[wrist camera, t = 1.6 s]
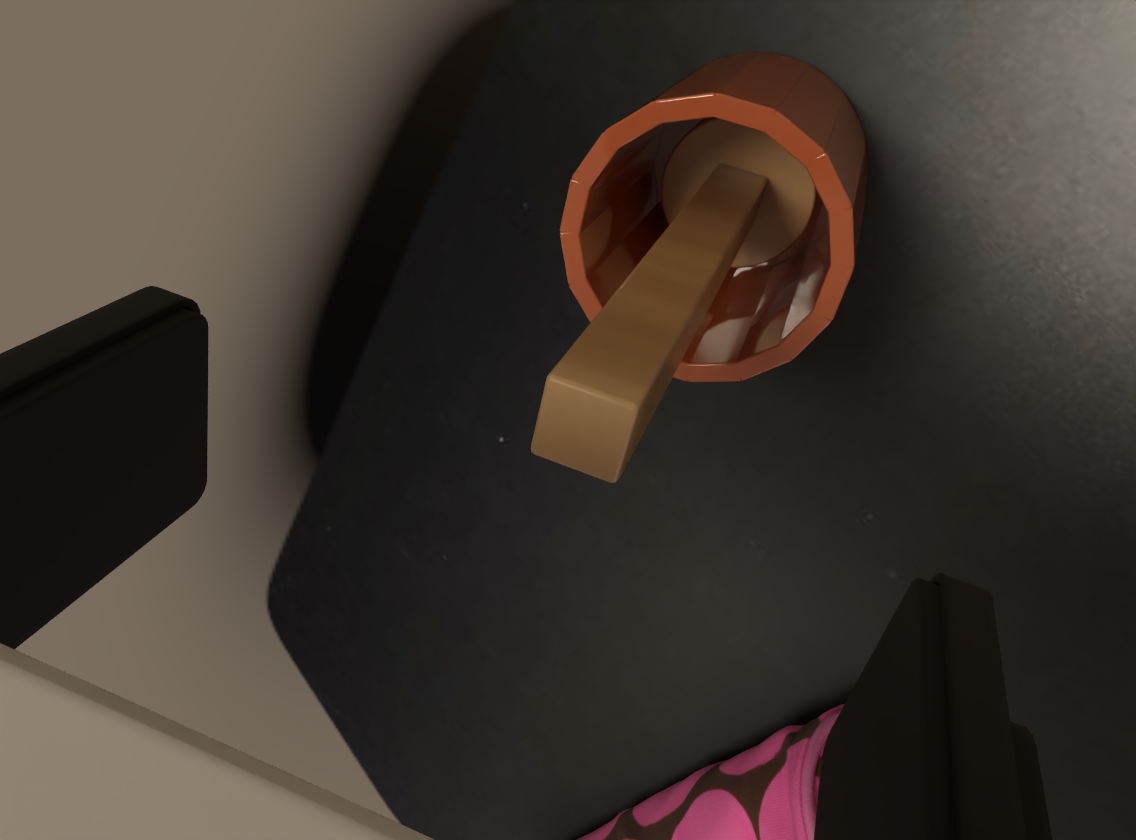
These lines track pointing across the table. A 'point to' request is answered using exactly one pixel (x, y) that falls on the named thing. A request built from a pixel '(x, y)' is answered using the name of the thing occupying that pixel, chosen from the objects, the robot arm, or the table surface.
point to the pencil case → (738, 794)
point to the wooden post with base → (671, 291)
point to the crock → (747, 295)
